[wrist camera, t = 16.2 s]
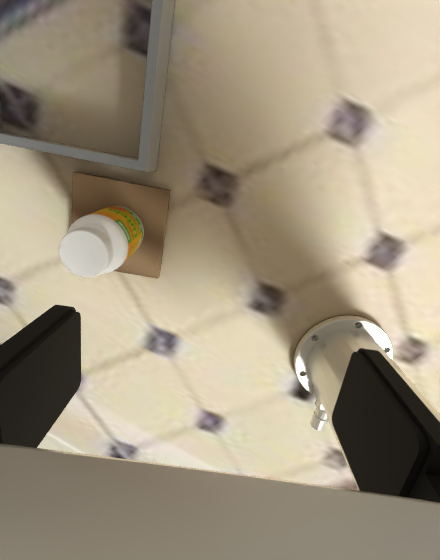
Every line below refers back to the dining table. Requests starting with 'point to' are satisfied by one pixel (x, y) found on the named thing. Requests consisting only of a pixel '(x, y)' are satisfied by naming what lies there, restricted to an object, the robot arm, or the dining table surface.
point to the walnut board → (136, 197)
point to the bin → (151, 103)
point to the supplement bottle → (101, 241)
